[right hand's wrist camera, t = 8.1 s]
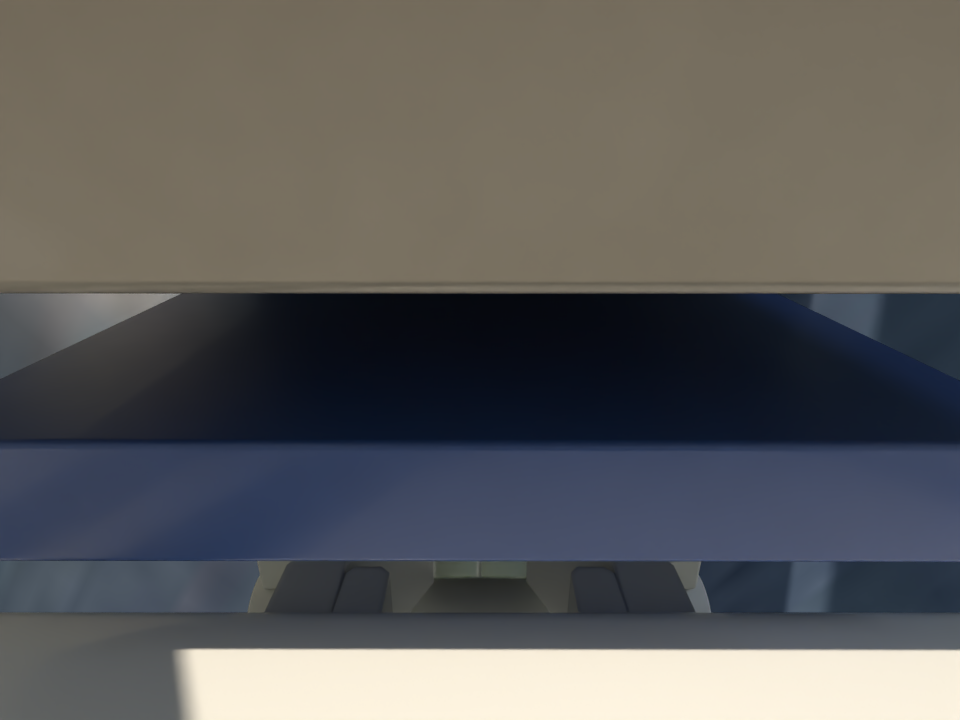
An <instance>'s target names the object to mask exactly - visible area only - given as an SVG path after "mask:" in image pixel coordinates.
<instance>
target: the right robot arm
mask: <svg viewBox="0 0 960 720" xmlns="http://www.w3.org/2000/svg"><path fill="white" fill-rule="evenodd" d="M473 578H486V579H522V580H526V582H527V583H528V585H529V586H530V587H531V588H532V590H533V591H534V592H535V594H536V595H537V596H538V597H539V599H540V600H541V601H542V602H543V604H544V605H545V606H546V608H547V609H548V610H549V611H550V613H410V612H411V610H412V609H413V608H414V607H415V605H416V604H417V603H418V602H419V600H420V599H421V598H422V597H423V595H424V594H425V593H426V591H427V590H428V589H429V588H430V586H431V585H432V584H433V583H434V580H438V579H473ZM0 720H960V613H813V612H763V613H696V612H695V609H694V607H693V605H692V603H691V601H690V599H689V597H688V595H687V592H686V590H685V588H684V586H683V584H682V582H681V580H680V578H679V575H678V573H677V571H676V569H675V567H674V565H673V564H671V563H670V562H668V561H291V562H290V563H288V564H287V565H286V567H285V570H284V572H283V574H282V576H281V578H280V580H279V582H278V584H277V586H276V588H275V591H274V593H273V595H272V597H271V599H270V601H269V603H268V605H267V607H266V609H265V612H264V613H136V612H135V613H134V612H4V613H0Z"/></svg>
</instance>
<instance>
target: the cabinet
mask: <svg viewBox="0 0 960 720" xmlns="http://www.w3.org/2000/svg"><path fill="white" fill-rule="evenodd" d="M0 293H471V294H473V293H474V294H960V0H0Z"/></svg>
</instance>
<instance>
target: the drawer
mask: <svg viewBox="0 0 960 720" xmlns="http://www.w3.org/2000/svg"><path fill="white" fill-rule="evenodd" d="M0 561H257V562H258V567H259V572H260V576H259V578H258V580H257V582H256V584H255V587H254V589H253V592H252V595H251V599H250V603H249V608H248V613H264V612H265V609H266V607H267V605H268V603H269V601H270V599H271V597H272V595H273V593H274V591H275V588H276V586H277V584H278V582H279V580H280V578H281V576H282V574H283V572H284V570H285V567H286V565H287V564H288V563H290V562H291V561H668V562H670V563H671V564H673V565H674V567H675V569H676V571H677V573H678V575H679V578H680V580H681V582H682V584H683V586H684V588H685V590H686V592H687V595H688V597H689V599H690V601H691V603H692V605H693V607H694V609H695V612H696V613H711V609H710V604H709V600H708V596H707V593H706V590H705V587H704V585H703V582H702V580H701V578H700V576H699V570H700V565H701V561H725V562H960V381H959V380H957V379H955V378H953V377H951V376H949V375H947V374H945V373H942V372H940V371H938V370H936V369H934V368H932V367H930V366H928V365H926V364H924V363H921V362H919V361H917V360H915V359H913V358H911V357H909V356H907V355H905V354H903V353H900V352H898V351H896V350H894V349H892V348H890V347H888V346H886V345H884V344H882V343H879V342H877V341H875V340H873V339H871V338H869V337H867V336H865V335H863V334H861V333H858V332H856V331H854V330H852V329H850V328H848V327H846V326H844V325H842V324H840V323H837V322H835V321H833V320H831V319H829V318H827V317H825V316H823V315H821V314H819V313H816V312H814V311H812V310H810V309H808V308H806V307H804V306H802V305H800V304H798V303H795V302H793V301H791V300H789V299H787V298H785V297H783V296H781V295H779V294H474V293H473V294H471V293H182V294H180V295H178V296H176V297H174V298H171V299H169V300H167V301H165V302H163V303H161V304H159V305H157V306H154V307H152V308H150V309H148V310H146V311H144V312H142V313H140V314H137V315H135V316H133V317H131V318H129V319H127V320H125V321H123V322H120V323H118V324H116V325H114V326H112V327H110V328H108V329H106V330H104V331H101V332H99V333H97V334H95V335H93V336H91V337H89V338H87V339H84V340H82V341H80V342H78V343H76V344H74V345H72V346H70V347H67V348H65V349H63V350H61V351H59V352H57V353H55V354H53V355H50V356H48V357H46V358H44V359H42V360H40V361H38V362H36V363H33V364H31V365H29V366H27V367H25V368H23V369H21V370H19V371H16V372H14V373H12V374H10V375H8V376H6V377H4V378H2V379H0ZM410 613H550V611H549V610H548V609H547V608H546V606H545V605H544V604H543V602H542V601H541V600H540V599H539V597H538V596H537V595H536V594H535V592H534V591H533V590H532V588H531V587H530V586H529V585H528V583H527V582H526V580H522V579H486V578H473V579H438V580H434V583H433V584H432V585H431V586H430V588H429V589H428V590H427V591H426V593H425V594H424V595H423V597H422V598H421V599H420V600H419V602H418V603H417V604H416V605H415V607H414V608H413V609H412V610H411V612H410Z"/></svg>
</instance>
